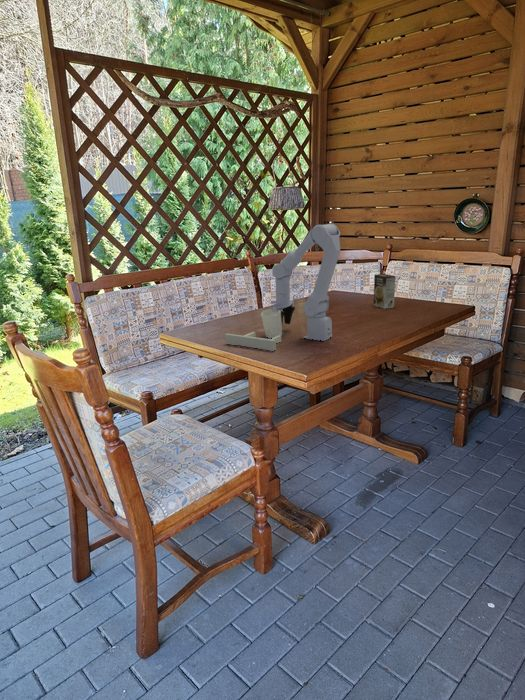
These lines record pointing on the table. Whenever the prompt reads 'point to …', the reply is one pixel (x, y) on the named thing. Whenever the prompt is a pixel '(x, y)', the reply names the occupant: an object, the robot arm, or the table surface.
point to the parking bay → (253, 341)
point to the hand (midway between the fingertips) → (283, 325)
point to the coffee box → (384, 291)
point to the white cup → (272, 323)
